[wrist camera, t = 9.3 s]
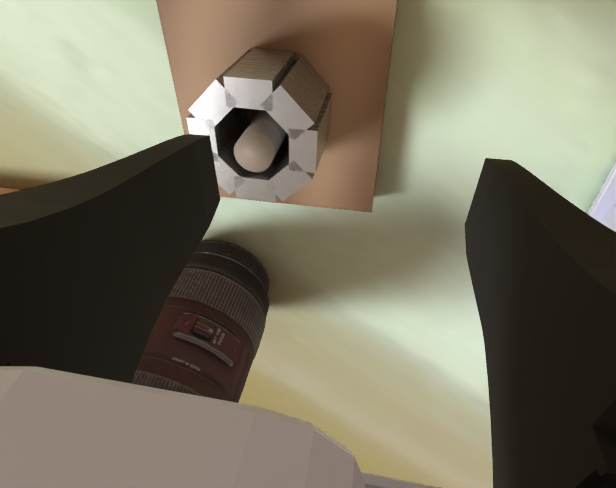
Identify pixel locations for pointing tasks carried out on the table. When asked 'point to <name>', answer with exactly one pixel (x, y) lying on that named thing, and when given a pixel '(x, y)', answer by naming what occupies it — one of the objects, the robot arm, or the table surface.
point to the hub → (282, 108)
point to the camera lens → (208, 325)
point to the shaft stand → (304, 40)
